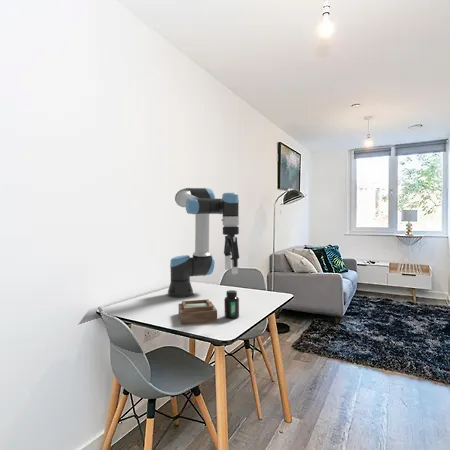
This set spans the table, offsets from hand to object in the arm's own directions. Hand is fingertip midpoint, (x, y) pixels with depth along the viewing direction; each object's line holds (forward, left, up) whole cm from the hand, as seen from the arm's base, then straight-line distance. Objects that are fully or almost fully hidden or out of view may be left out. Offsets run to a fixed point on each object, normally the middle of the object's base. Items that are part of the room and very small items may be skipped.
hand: (231, 271), depth 148 cm
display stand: (-3, -16, -21) cm, 27 cm away
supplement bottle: (0, 0, -22) cm, 22 cm away
